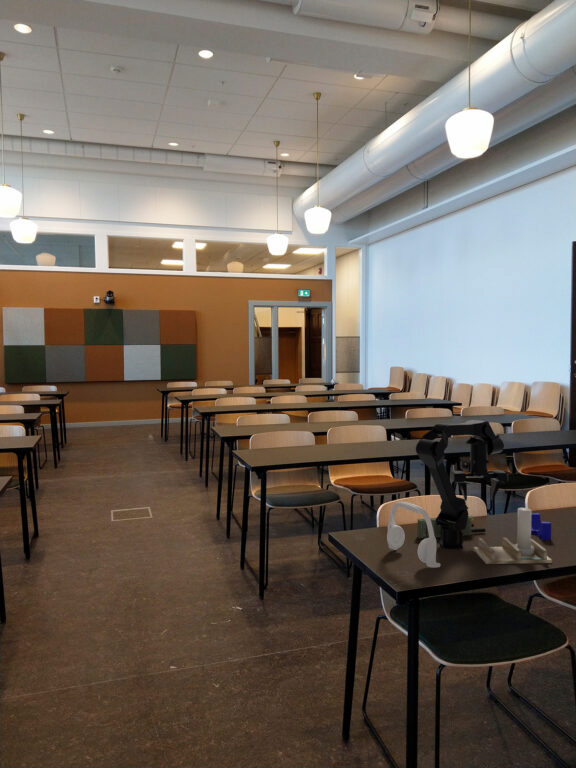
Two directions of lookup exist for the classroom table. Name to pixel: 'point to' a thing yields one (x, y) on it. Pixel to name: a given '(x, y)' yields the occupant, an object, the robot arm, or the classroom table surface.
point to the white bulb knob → (524, 532)
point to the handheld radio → (423, 530)
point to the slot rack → (510, 553)
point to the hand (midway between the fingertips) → (478, 500)
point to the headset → (398, 536)
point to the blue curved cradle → (540, 527)
